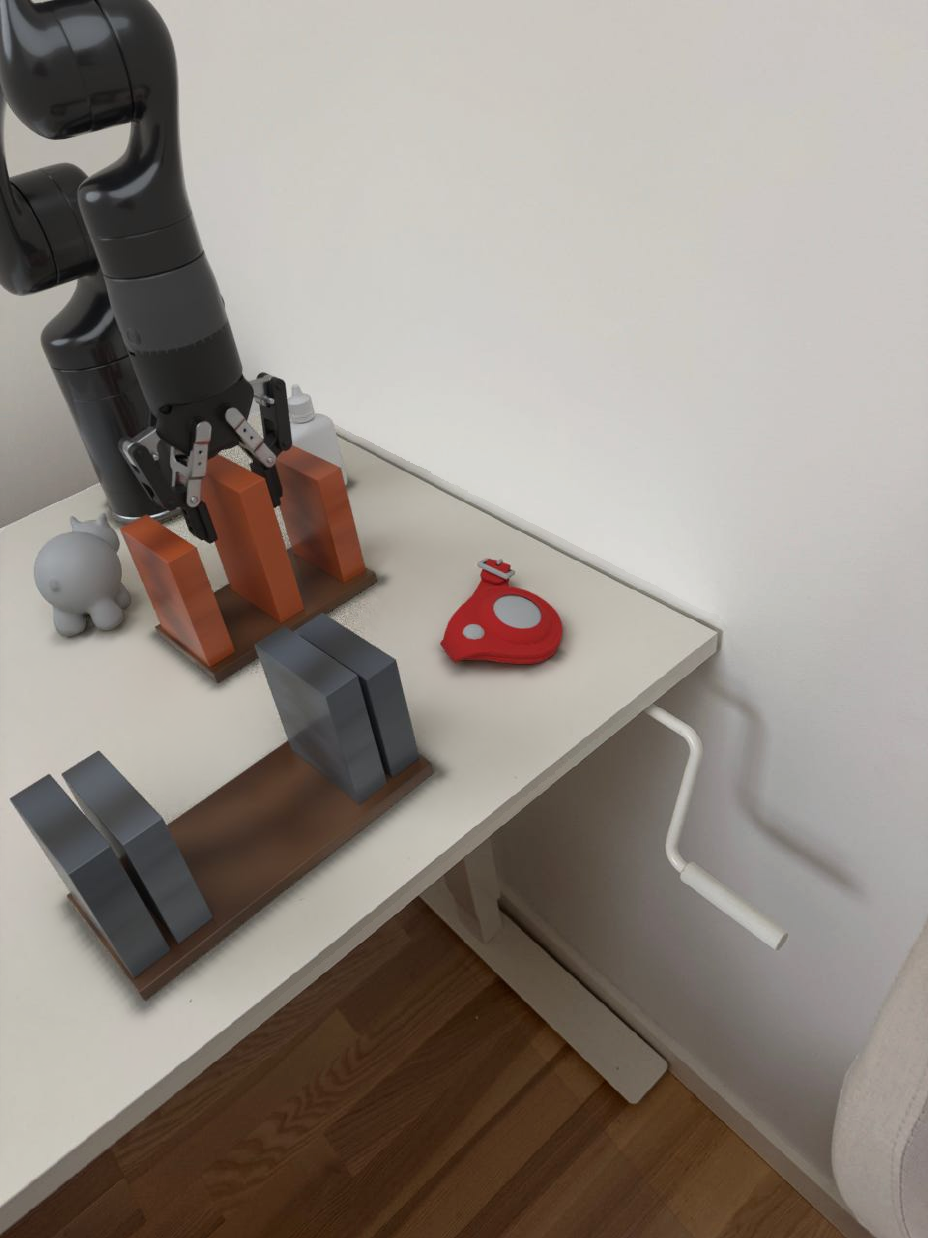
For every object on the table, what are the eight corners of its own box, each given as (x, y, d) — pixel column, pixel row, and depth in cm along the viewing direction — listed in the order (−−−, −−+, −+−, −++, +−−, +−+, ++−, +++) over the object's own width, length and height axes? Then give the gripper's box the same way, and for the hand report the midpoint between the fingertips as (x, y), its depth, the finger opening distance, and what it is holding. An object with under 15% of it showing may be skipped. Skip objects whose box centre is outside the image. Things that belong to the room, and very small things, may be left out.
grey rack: (71, 904, 62) (-3, 792, 55) (347, 709, 73) (314, 595, 66) (144, 1002, 56) (71, 889, 49) (434, 772, 67) (407, 654, 60)
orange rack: (158, 635, 84) (110, 525, 77) (312, 544, 92) (282, 437, 85) (217, 683, 77) (171, 569, 70) (377, 581, 86) (351, 469, 78)
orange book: (231, 589, 86) (185, 463, 78) (254, 576, 87) (211, 450, 79) (281, 623, 81) (238, 492, 73) (305, 609, 82) (265, 478, 74)
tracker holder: (591, 630, 74) (486, 663, 69) (576, 669, 77) (474, 704, 72) (506, 536, 81) (405, 560, 76) (495, 575, 84) (396, 601, 79)
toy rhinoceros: (161, 559, 93) (131, 484, 88) (124, 637, 84) (88, 559, 79) (91, 566, 94) (56, 492, 89) (47, 645, 85) (5, 567, 80)
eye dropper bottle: (294, 489, 101) (263, 383, 93) (346, 476, 101) (320, 370, 94) (299, 509, 97) (268, 401, 90) (352, 495, 98) (326, 387, 90)
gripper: (230, 282, 74) (285, 471, 85) (60, 350, 67) (142, 547, 78) (285, 298, 70) (335, 496, 80) (108, 374, 63) (188, 580, 73)
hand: (240, 520), depth 79 cm, fingers open, 5 cm apart
